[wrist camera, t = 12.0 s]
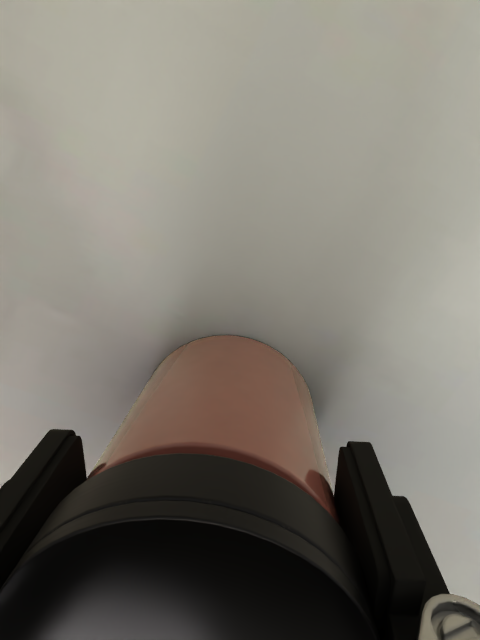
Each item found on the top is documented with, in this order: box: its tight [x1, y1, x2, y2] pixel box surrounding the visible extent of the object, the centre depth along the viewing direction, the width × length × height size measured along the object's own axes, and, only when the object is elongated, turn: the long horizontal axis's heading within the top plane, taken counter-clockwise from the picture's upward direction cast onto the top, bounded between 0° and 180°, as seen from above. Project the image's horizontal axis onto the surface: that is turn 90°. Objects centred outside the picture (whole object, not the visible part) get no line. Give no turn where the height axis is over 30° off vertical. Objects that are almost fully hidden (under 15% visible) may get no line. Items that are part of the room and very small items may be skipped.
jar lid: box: [0, 453, 380, 640], centre depth 8 cm, size 7×7×2 cm
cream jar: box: [86, 335, 340, 525], centre depth 12 cm, size 6×6×8 cm
